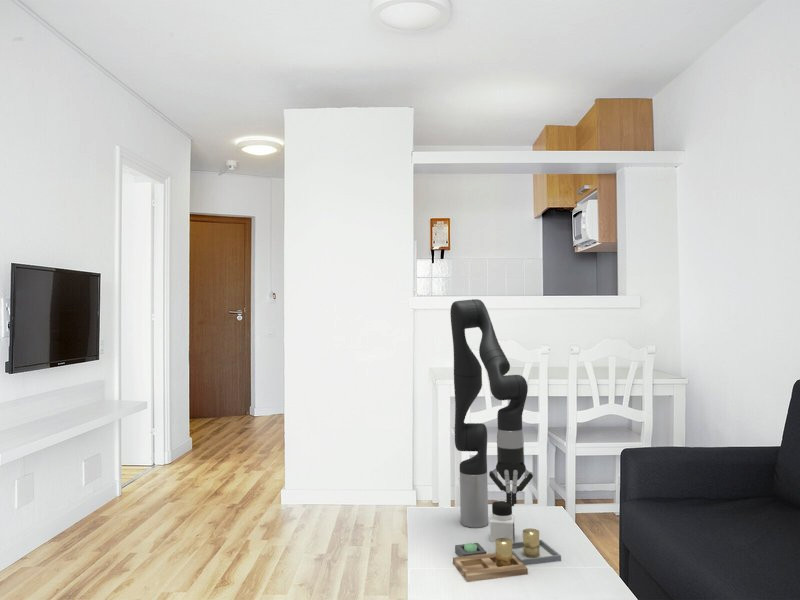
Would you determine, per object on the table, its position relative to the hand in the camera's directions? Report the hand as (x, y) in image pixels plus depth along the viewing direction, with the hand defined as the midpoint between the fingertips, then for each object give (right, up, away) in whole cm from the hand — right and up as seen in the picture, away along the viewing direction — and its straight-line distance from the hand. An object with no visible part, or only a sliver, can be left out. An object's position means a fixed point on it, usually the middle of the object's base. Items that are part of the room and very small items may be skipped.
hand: (511, 505), depth 175 cm
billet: (+6, -15, 0) cm, 16 cm away
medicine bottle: (0, -16, +13) cm, 20 cm away
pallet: (-8, -15, -9) cm, 19 cm away
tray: (+6, -15, 0) cm, 16 cm away
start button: (-12, -15, 0) cm, 19 cm away
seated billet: (-3, -14, -8) cm, 17 cm away
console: (-12, -16, 0) cm, 19 cm away
